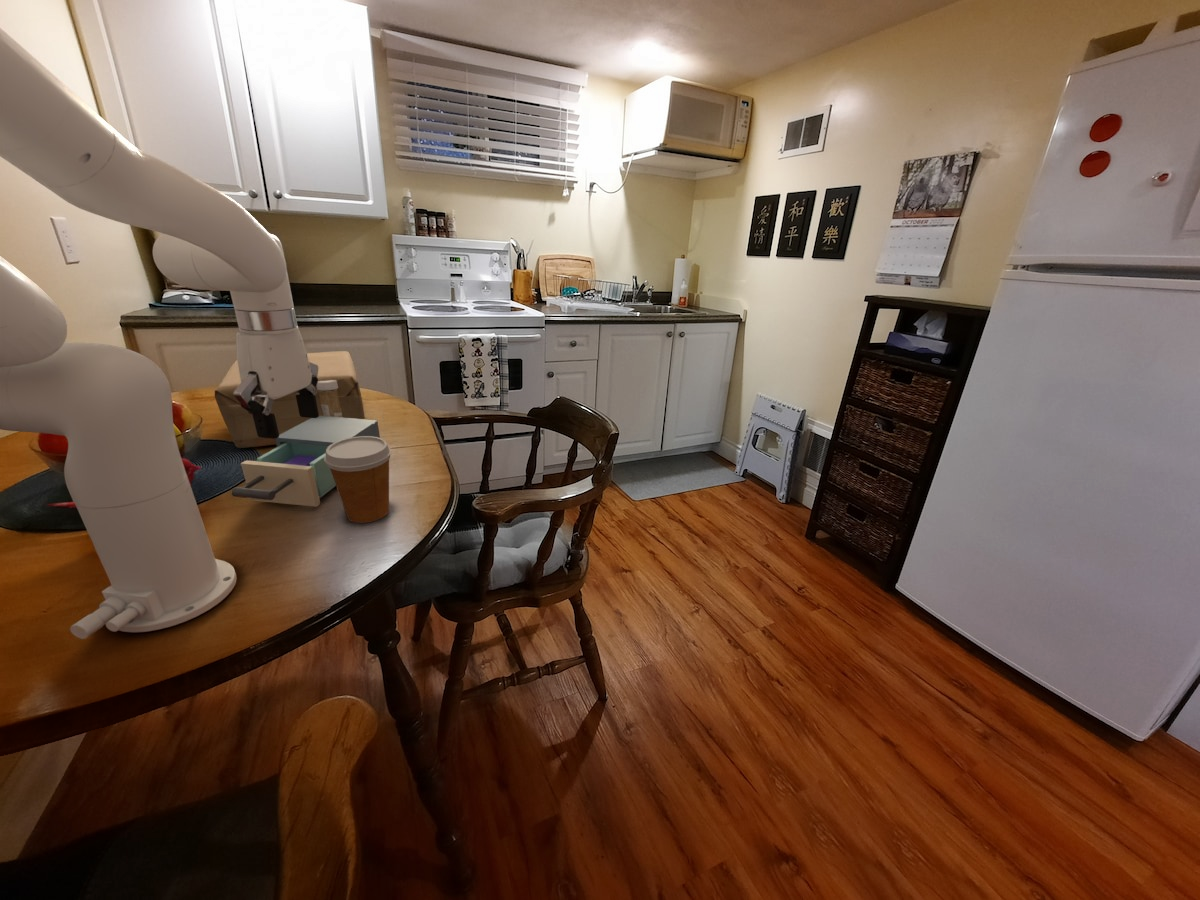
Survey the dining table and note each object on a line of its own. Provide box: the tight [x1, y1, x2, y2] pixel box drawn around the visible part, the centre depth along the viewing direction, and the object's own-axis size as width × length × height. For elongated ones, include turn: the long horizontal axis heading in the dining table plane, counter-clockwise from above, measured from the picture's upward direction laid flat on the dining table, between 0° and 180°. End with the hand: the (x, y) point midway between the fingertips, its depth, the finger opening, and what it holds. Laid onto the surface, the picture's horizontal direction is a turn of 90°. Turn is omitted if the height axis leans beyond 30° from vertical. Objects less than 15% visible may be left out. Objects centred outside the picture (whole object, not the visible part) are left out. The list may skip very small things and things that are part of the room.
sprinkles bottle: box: [316, 380, 342, 417], centre depth 105 cm, size 5×5×14 cm
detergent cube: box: [283, 455, 318, 466], centre depth 85 cm, size 4×4×4 cm
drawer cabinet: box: [275, 415, 381, 447], centre depth 92 cm, size 12×13×9 cm
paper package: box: [214, 350, 366, 449], centre depth 111 cm, size 27×26×14 cm
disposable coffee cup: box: [324, 436, 392, 524], centre depth 78 cm, size 10×10×12 cm
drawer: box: [231, 442, 337, 507], centre depth 81 cm, size 16×11×7 cm
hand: (290, 426), depth 81 cm, fingers open, 9 cm apart
